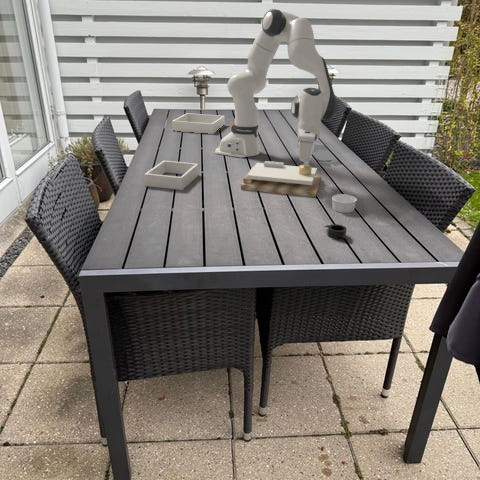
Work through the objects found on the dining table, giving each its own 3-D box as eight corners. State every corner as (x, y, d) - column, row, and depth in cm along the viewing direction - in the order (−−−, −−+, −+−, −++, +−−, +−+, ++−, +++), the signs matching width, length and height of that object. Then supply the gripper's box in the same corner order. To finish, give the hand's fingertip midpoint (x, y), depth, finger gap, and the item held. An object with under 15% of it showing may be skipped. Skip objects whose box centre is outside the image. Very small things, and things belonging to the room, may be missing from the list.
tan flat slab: (240, 189, 186) (241, 180, 185) (252, 173, 206) (253, 164, 204) (315, 197, 180) (316, 187, 178) (320, 179, 199) (321, 171, 198)
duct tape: (346, 230, 154) (347, 222, 152) (350, 243, 145) (351, 235, 143) (322, 229, 154) (323, 221, 153) (325, 242, 145) (326, 234, 144)
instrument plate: (247, 178, 186) (247, 167, 184) (256, 166, 202) (257, 155, 200) (311, 185, 180) (312, 174, 178) (316, 171, 196) (317, 161, 194)
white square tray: (172, 131, 275) (172, 120, 272) (187, 122, 296) (186, 113, 294) (212, 134, 269) (212, 124, 267) (224, 125, 291) (224, 115, 288)
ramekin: (341, 215, 165) (342, 204, 163) (325, 206, 172) (327, 195, 170) (360, 211, 168) (362, 200, 166) (344, 203, 175) (346, 192, 173)
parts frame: (145, 185, 188) (144, 174, 185) (164, 171, 205) (163, 160, 203) (182, 190, 184) (181, 178, 182) (198, 175, 202) (198, 163, 199)
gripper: (304, 126, 191) (301, 158, 197) (297, 137, 173) (294, 173, 179) (319, 127, 189) (316, 160, 196) (314, 138, 172) (311, 174, 178)
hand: (306, 166), depth 187 cm, fingers closed, pressing on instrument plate
